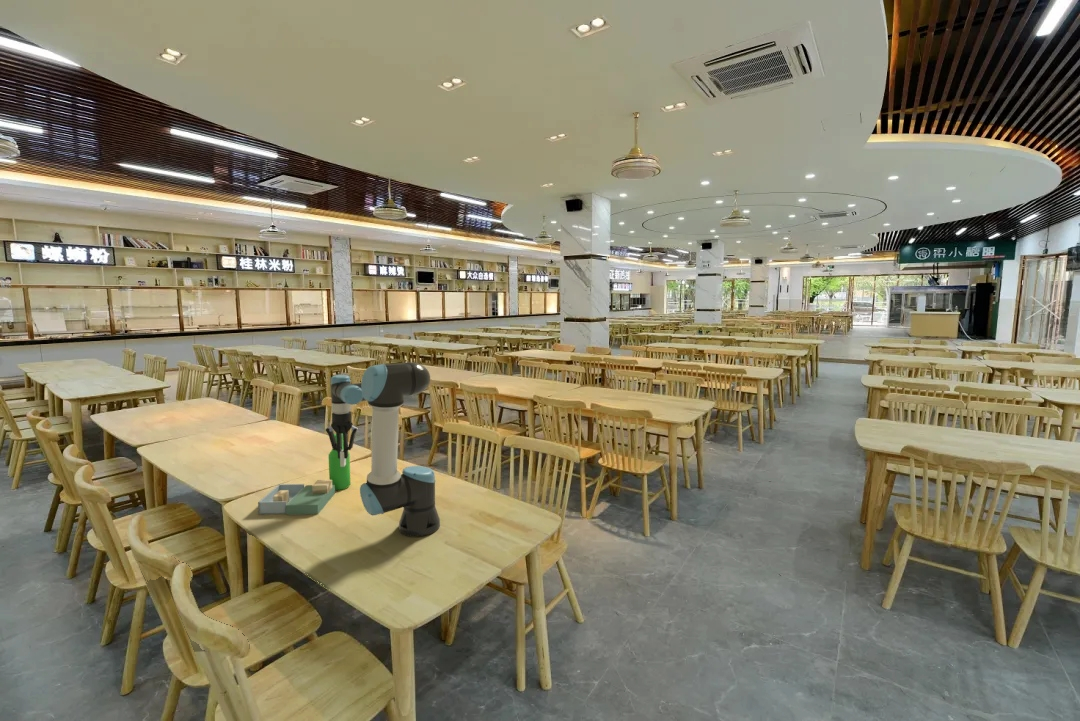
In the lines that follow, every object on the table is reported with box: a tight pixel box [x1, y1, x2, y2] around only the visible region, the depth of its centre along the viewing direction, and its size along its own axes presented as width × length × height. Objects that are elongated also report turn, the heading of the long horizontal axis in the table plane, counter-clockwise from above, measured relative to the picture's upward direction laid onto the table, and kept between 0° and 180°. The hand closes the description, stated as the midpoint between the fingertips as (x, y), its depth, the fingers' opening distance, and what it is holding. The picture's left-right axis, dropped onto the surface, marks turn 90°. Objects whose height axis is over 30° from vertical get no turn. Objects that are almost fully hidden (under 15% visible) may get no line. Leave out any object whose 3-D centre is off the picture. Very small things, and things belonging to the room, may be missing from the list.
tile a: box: [273, 490, 289, 504], centre depth 189 cm, size 6×6×4 cm
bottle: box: [328, 433, 351, 491], centre depth 210 cm, size 9×9×25 cm
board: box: [286, 484, 336, 516], centre depth 194 cm, size 20×12×4 cm, turn 6°
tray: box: [257, 483, 305, 515], centre depth 192 cm, size 18×10×5 cm, turn 6°
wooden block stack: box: [311, 479, 332, 493], centre depth 197 cm, size 6×6×4 cm
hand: (343, 465), depth 197 cm, fingers closed
